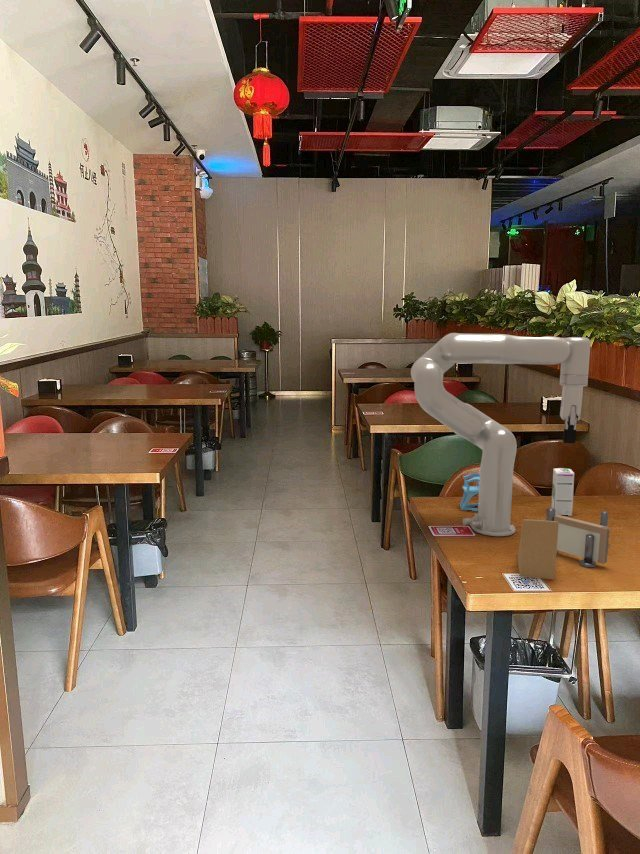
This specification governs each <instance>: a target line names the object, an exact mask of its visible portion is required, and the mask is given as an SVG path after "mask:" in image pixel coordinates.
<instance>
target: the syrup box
mask: <svg viewBox="0 0 640 854" xmlns="http://www.w3.org/2000/svg"><path fill="white" fill-rule="evenodd" d="M574 483H575V472H574V471H573V470H572V469H571V468H565V467H558V468H553V473H552V490H551V507H550V508H554V509H556V512H555V516H556V515H568V516H567V517H572V516H573V505H574V488H575V487H574V486H575V485H574Z"/></svg>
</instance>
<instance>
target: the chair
mask: <svg viewBox="0 0 640 854" xmlns="http://www.w3.org/2000/svg"><path fill="white" fill-rule="evenodd" d="M462 478H463V480H464V483H463V485H462V486H461V487H462V490H463V494H462V498H461V501H460V505H459V508H460V511H467V510H472V511H471V512H477V511H478V503H479V502H478V503H477V502H475V503H469V502H470V500H471V499H472V498H473V497H474V496H475V495H479V483H480V473H473V472H472V473H470V474H468V475H465V476H462ZM473 482H477V483H478V485H470V483H473ZM475 506H477V507H475Z"/></svg>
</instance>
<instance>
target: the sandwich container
mask: <svg viewBox="0 0 640 854" xmlns="http://www.w3.org/2000/svg"><path fill="white" fill-rule="evenodd" d="M521 524H522V525H521V530H520V531H521V532H520V539H519V544H518V545H519V546H518V550H517V568H518V572H519V576H520V577H525V578H536V579H544V580H553V579H554V580H555V576H556V563H557V562H556V561H557V555H558V553H557V542H558V527H559V523H558V522H556V521H546V520H543V519H526V518H525V519H522V523H521Z"/></svg>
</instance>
